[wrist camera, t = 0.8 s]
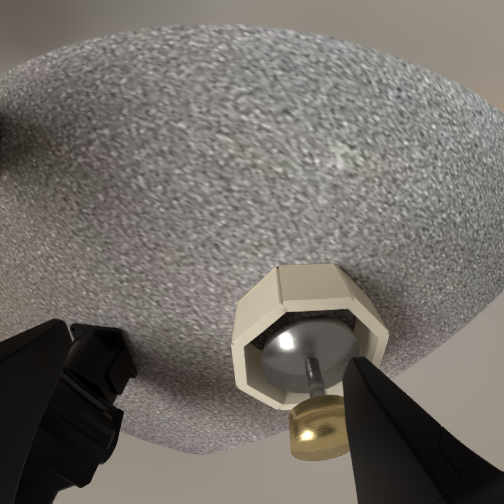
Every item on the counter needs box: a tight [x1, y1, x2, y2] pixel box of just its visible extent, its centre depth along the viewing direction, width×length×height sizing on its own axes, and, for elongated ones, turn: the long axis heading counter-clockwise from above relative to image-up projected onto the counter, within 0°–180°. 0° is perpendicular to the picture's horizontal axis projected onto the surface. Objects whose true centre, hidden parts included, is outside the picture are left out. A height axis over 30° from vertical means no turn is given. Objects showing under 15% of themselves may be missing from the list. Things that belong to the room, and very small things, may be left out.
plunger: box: [261, 316, 360, 461], centre depth 15 cm, size 7×7×8 cm
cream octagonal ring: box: [231, 263, 390, 410], centre depth 21 cm, size 11×13×5 cm
